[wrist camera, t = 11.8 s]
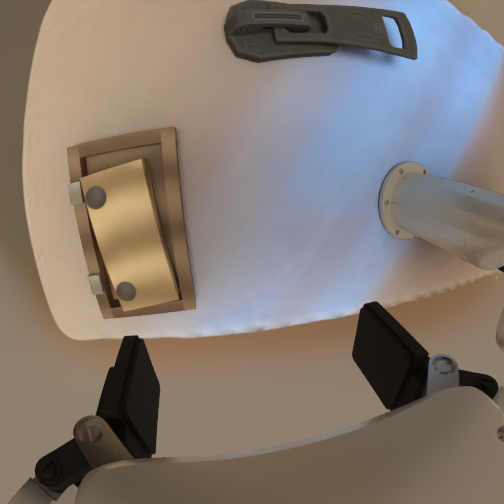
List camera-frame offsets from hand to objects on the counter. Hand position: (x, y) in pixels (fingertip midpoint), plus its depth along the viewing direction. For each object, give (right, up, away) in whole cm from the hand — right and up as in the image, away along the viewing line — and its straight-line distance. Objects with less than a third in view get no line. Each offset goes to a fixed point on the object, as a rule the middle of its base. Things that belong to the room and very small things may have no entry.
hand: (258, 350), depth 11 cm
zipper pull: (+8, +33, +17) cm, 38 cm away
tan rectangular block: (-14, +7, +20) cm, 25 cm away
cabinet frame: (-15, +7, +21) cm, 26 cm away
